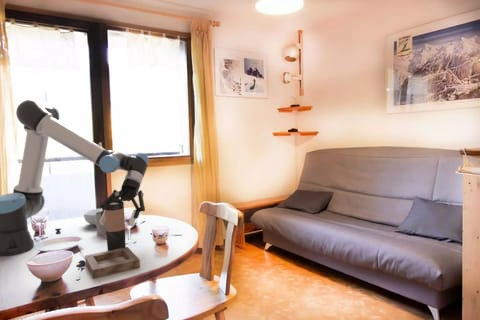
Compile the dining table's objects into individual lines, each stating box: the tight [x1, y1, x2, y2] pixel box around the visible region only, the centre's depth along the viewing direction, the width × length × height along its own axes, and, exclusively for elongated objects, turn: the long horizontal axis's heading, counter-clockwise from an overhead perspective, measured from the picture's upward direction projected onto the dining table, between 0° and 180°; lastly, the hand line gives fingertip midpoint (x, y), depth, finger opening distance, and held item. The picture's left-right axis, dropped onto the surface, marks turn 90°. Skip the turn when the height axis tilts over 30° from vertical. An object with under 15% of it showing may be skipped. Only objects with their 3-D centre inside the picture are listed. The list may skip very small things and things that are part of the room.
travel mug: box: [105, 201, 126, 251], centre depth 145 cm, size 8×8×20 cm
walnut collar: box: [84, 246, 141, 279], centre depth 129 cm, size 16×16×3 cm
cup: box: [95, 211, 106, 236], centre depth 169 cm, size 8×8×10 cm
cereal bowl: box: [83, 207, 103, 227], centre depth 184 cm, size 17×17×7 cm
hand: (116, 224), depth 145 cm, fingers open, 13 cm apart
